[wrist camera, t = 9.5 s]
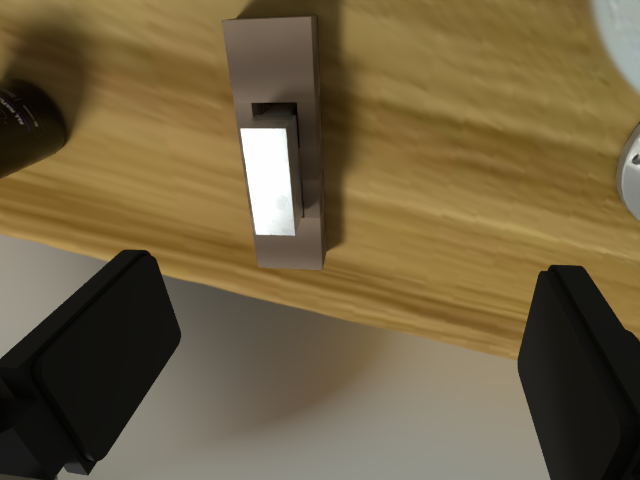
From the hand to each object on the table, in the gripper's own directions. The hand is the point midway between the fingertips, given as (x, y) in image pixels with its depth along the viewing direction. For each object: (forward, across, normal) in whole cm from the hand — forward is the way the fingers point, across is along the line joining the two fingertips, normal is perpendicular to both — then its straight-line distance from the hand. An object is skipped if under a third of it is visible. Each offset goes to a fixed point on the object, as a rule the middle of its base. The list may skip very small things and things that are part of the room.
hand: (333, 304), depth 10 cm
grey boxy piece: (+24, +8, +4) cm, 26 cm away
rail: (+24, +8, +4) cm, 26 cm away
